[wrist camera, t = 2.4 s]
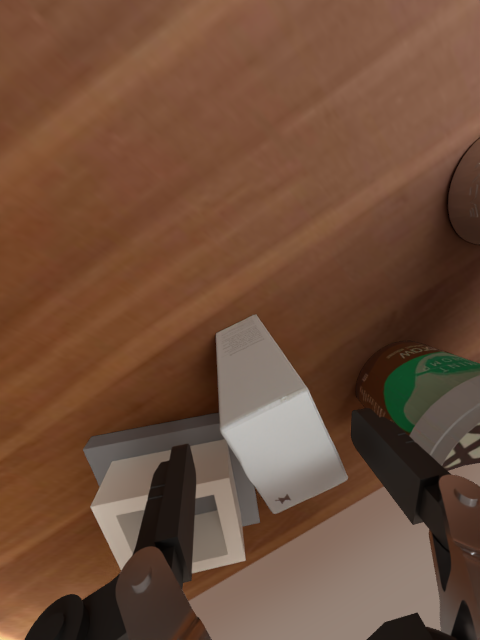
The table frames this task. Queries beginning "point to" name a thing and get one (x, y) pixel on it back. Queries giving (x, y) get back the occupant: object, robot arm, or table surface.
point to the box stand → (136, 476)
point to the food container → (426, 398)
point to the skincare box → (272, 419)
